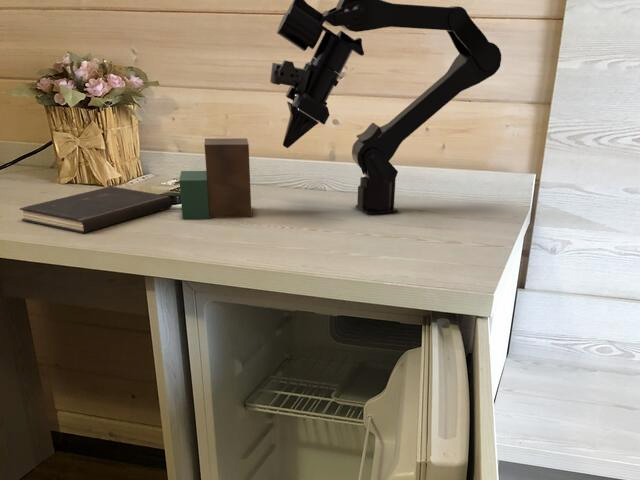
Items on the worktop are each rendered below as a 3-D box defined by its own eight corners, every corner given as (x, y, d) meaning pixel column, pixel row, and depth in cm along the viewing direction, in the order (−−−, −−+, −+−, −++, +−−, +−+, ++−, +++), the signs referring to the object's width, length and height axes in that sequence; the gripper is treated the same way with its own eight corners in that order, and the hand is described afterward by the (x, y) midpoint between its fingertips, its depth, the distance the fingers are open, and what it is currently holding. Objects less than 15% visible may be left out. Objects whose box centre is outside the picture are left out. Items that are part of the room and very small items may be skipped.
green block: (209, 207, 147) (207, 170, 143) (209, 218, 139) (206, 180, 136) (184, 207, 146) (181, 170, 143) (182, 219, 139) (179, 180, 135)
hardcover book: (22, 220, 135) (19, 207, 134) (112, 197, 152) (111, 186, 151) (84, 234, 128) (82, 220, 127) (172, 208, 146) (171, 196, 144)
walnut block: (250, 208, 147) (247, 138, 140) (251, 216, 141) (248, 144, 134) (209, 208, 146) (204, 138, 139) (209, 217, 140) (204, 144, 133)
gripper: (283, 38, 138) (244, 117, 144) (292, 42, 122) (248, 130, 128) (333, 72, 142) (294, 147, 148) (348, 79, 126) (304, 163, 132)
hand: (285, 146), depth 139 cm, fingers closed
